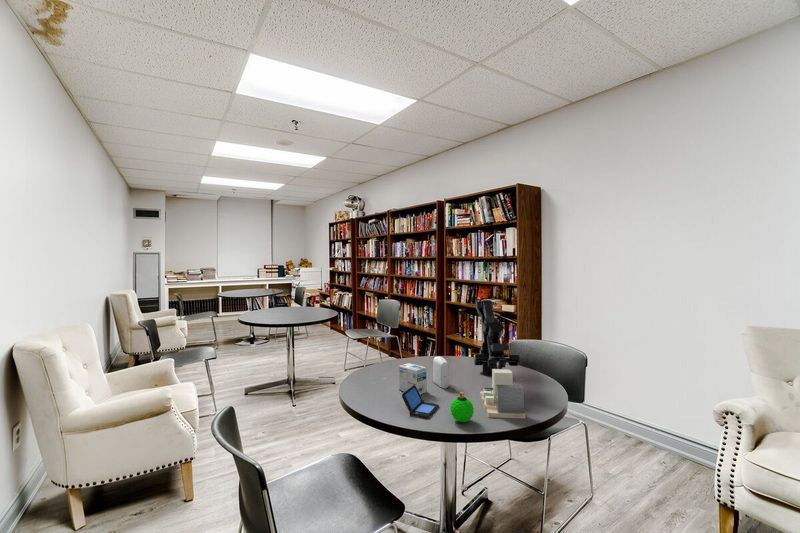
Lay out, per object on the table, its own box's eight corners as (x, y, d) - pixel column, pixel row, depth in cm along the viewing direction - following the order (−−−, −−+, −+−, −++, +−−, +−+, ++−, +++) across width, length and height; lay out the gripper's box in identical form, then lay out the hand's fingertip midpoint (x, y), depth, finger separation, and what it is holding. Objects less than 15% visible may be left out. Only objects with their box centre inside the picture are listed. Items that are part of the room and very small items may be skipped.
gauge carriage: (484, 393, 146) (483, 368, 146) (509, 393, 145) (509, 369, 145) (486, 400, 138) (486, 374, 138) (514, 401, 137) (514, 375, 137)
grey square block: (496, 409, 131) (496, 384, 131) (521, 410, 130) (521, 385, 130) (498, 412, 128) (497, 387, 128) (523, 413, 127) (523, 388, 127)
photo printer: (450, 387, 158) (449, 359, 158) (441, 388, 156) (440, 360, 156) (440, 380, 167) (440, 354, 167) (432, 381, 166) (432, 354, 166)
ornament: (445, 422, 124) (445, 393, 124) (457, 414, 130) (457, 386, 130) (466, 428, 119) (466, 398, 119) (478, 420, 125) (478, 392, 125)
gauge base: (480, 394, 149) (479, 385, 149) (511, 395, 148) (511, 386, 148) (488, 417, 128) (488, 406, 127) (525, 418, 126) (525, 407, 126)
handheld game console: (428, 420, 126) (428, 399, 126) (400, 415, 131) (400, 394, 130) (440, 407, 137) (440, 387, 137) (414, 402, 142) (414, 384, 142)
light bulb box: (427, 392, 153) (427, 366, 153) (417, 396, 148) (417, 370, 148) (408, 386, 160) (408, 362, 160) (398, 390, 155) (398, 365, 155)
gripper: (474, 335, 155) (478, 367, 144) (519, 335, 153) (525, 368, 142) (472, 348, 163) (475, 381, 152) (514, 349, 161) (521, 382, 150)
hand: (499, 378), depth 149 cm, fingers closed
